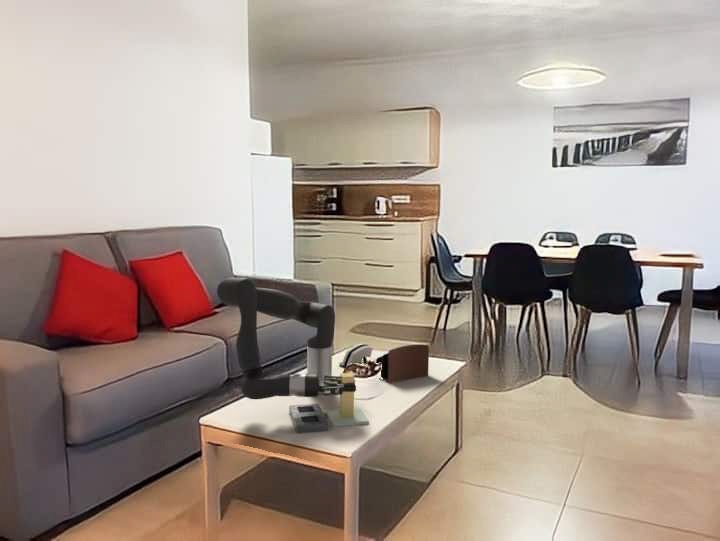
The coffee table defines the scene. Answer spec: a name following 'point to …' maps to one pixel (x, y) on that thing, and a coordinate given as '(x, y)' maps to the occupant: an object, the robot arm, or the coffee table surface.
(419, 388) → the coffee table surface
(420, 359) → the letter holder
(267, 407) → the coffee table surface
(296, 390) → the robot arm
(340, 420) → the pad
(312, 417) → the frame with square holes
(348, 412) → the plug
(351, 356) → the grey curved piece
